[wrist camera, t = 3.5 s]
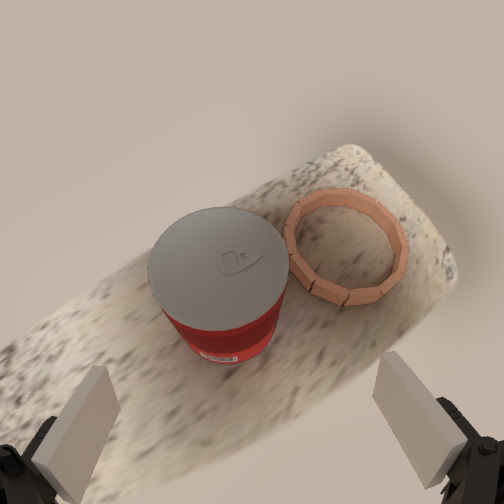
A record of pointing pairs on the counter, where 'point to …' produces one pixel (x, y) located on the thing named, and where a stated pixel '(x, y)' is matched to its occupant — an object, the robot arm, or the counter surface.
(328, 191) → the ring
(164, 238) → the canned food
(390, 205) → the counter surface
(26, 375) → the counter surface
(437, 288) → the counter surface
